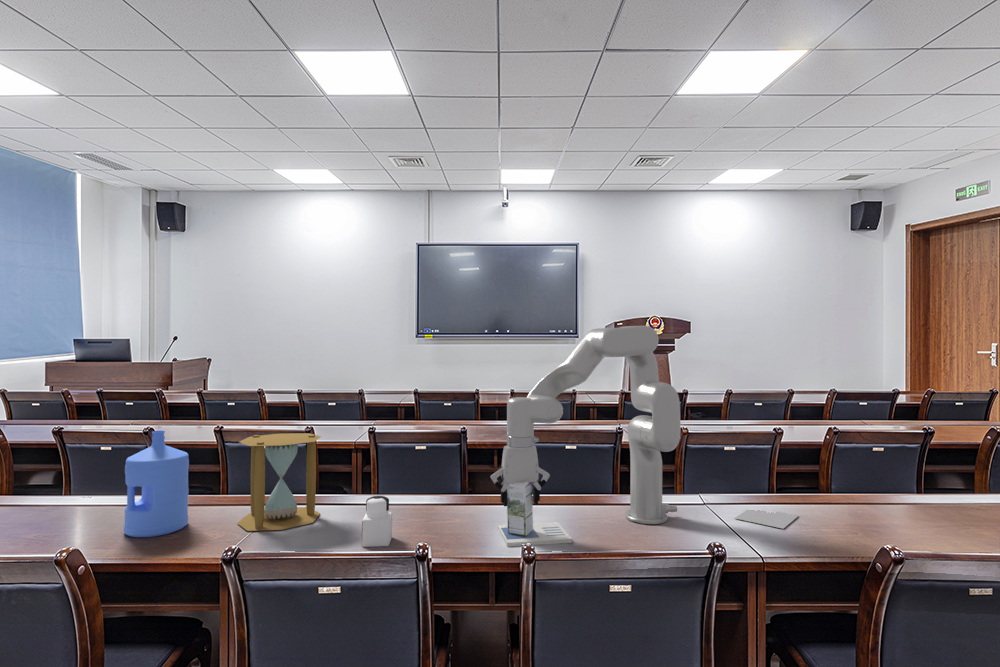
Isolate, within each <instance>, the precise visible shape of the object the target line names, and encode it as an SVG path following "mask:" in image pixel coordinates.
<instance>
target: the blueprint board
mask: <svg viewBox="0 0 1000 667" xmlns="http://www.w3.org/2000/svg"><path fill="white" fill-rule="evenodd" d="M497 530H498V532H499V534H500V536H501V538H502V540H503V541H504V544H505V546H506V547H508V548H509V547H522V546H521V545H522V544H527V543H530V544H533V545H532V546H538V545H554V544H570V543H571V544H572V543H573V537H571V536H570V534H569V533H568V532H567V531H566V530H565V529H564V528H563V527H562V525H561V524H560V523H559V522H558V521H553V522H551V521H550V522H533V530H532V531H531V532H530V533H529V534H528V535H527V536H522V535H516V534H509V533H508V524H498V525H497Z"/></svg>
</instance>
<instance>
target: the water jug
mask: <svg viewBox="0 0 1000 667" xmlns="http://www.w3.org/2000/svg"><path fill="white" fill-rule="evenodd" d="M165 432H166V430H154V431H151V435H152V437H151V445H150V446H149V447H147V448H145V449H142V450H140V451H139V452H137V453H134V454H133V455H131V456H128V457H127V458H126V460H125V466H124V474H125V475H124V476H125V480H124V481H125V485H126V486H127V488H126V489H127V490H126V493H127V496H126V506H125V507H124V524H123V532H124V534H125V535H126V536H128V537H132V538H152V537H159V536H164V535H168V534H171V533H175V532H177V531H180V530H182V529H184V528H185V527H186V526H187V525H188V523H189V515H188V514H189V512H188V509H189V507H188V506H189V494H190V493H189V492H190V491H189V490H190V488H189V467H190V458H189V453H188V452H186V451H184V450H180V449H178V448H175V447H172V446H170V445H166V444H165V439H166V438H165V437H166V436H165ZM136 487H141V498H140V499H139V500H138V501H136V502H135V500H136V495H135V494H136Z"/></svg>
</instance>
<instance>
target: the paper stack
mask: <svg viewBox="0 0 1000 667" xmlns="http://www.w3.org/2000/svg"><path fill="white" fill-rule="evenodd" d="M788 514H789V515H788ZM790 514H791V515H790ZM792 515H793V516H792ZM798 517H799V514H793V513H789V512H788V513H787V512H781V511H777V512H776V513H775V514H774V512H773V513H772V512H771V513H769V512H768V513H767V512H766V511H763V510H762V511H760V510H757V511H755V510H748V509H746V510H745V511H743V512H741V513H740V514H739V515H736V516H735V517H734V519H736V520H742V521H745V522H750V523H755V524H758V525H759V524H760V525H764V526H768V527H774V528H779V529H785V528H786V527H787V526H788V525H789V524H791V523H792V522H793V521H795V519H797V518H798Z"/></svg>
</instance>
